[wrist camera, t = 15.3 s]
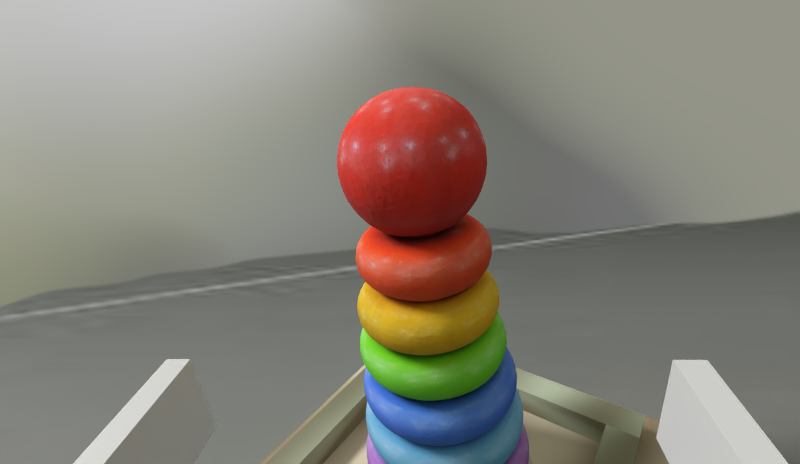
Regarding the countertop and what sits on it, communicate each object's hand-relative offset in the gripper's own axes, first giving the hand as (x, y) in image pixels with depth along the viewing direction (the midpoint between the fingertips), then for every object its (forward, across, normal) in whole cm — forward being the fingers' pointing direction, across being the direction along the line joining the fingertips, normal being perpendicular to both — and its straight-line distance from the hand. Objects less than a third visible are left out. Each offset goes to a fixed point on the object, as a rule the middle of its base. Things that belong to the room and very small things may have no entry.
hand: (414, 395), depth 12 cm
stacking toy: (+5, 0, -11) cm, 12 cm away
